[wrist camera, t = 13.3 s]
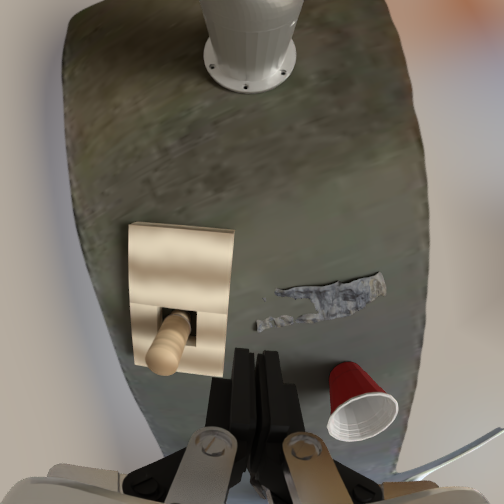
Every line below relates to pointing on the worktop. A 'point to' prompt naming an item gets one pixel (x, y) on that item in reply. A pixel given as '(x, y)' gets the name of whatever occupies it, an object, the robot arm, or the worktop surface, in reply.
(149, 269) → the board
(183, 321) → the peg
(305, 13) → the worktop surface
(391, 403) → the plastic cup
